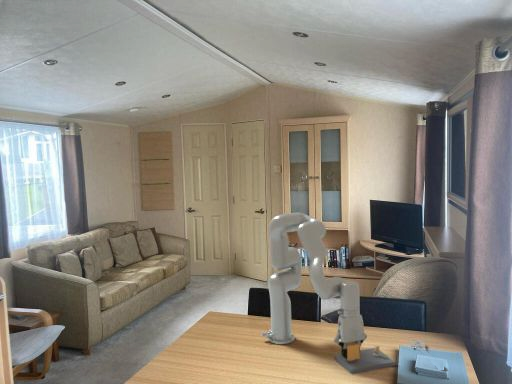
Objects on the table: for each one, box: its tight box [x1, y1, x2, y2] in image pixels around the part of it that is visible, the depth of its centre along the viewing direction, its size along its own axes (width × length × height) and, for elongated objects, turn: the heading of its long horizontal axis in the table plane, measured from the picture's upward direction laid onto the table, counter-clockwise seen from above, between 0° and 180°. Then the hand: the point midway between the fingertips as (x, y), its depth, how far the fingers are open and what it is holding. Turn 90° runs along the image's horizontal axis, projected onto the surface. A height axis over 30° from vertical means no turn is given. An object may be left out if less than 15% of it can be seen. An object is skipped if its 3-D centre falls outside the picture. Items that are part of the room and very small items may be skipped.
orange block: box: [346, 341, 360, 360], centre depth 165 cm, size 5×5×6 cm
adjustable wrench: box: [410, 340, 427, 350], centre depth 171 cm, size 25×6×2 cm, turn 178°
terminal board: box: [333, 344, 397, 374], centre depth 167 cm, size 20×14×6 cm
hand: (350, 355), depth 165 cm, fingers closed on orange block, 4 cm apart
